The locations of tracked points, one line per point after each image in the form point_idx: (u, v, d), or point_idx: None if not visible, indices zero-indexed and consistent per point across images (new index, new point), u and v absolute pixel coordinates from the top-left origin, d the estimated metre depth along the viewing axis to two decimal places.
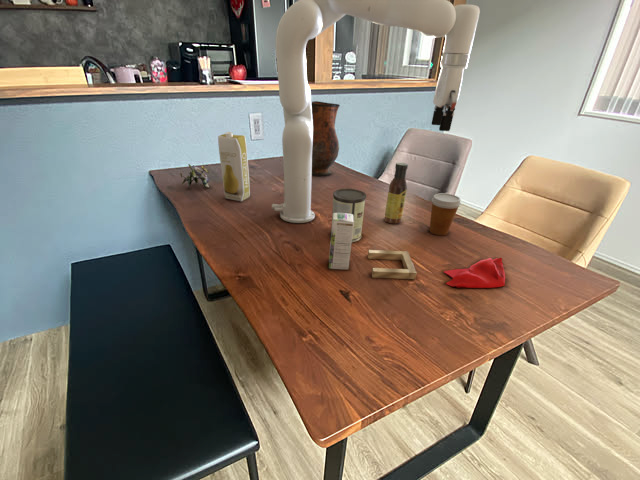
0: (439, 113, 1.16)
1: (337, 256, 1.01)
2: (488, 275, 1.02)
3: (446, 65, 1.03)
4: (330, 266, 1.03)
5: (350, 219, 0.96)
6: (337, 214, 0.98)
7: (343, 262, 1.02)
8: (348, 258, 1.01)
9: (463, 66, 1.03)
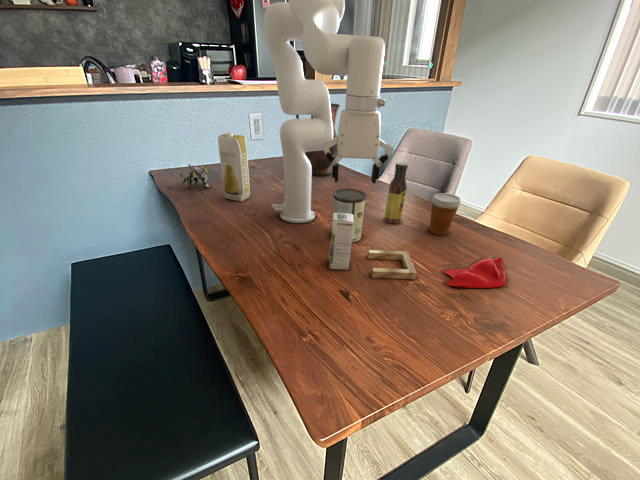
0: (373, 168, 0.91)
1: (337, 256, 1.01)
2: (488, 275, 1.02)
3: None
4: (330, 266, 1.03)
5: (350, 219, 0.96)
6: (337, 214, 0.98)
7: (343, 262, 1.02)
8: (348, 258, 1.01)
9: (347, 109, 0.82)
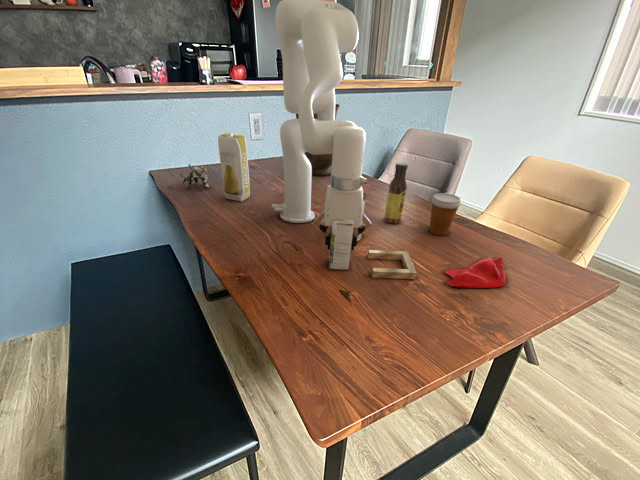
0: None
1: (337, 256, 1.01)
2: (488, 275, 1.02)
3: None
4: (330, 266, 1.03)
5: None
6: None
7: (343, 262, 1.02)
8: (348, 258, 1.01)
9: (332, 188, 0.90)
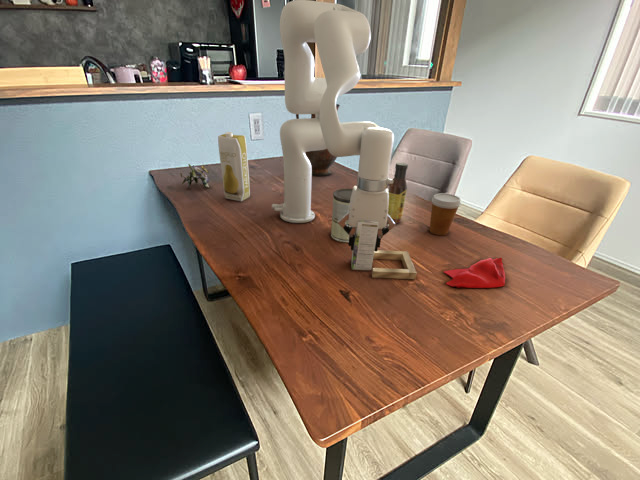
0: None
1: (360, 257, 1.01)
2: (488, 275, 1.02)
3: None
4: (353, 267, 1.03)
5: None
6: None
7: (366, 263, 1.02)
8: (371, 259, 1.01)
9: (359, 189, 0.90)
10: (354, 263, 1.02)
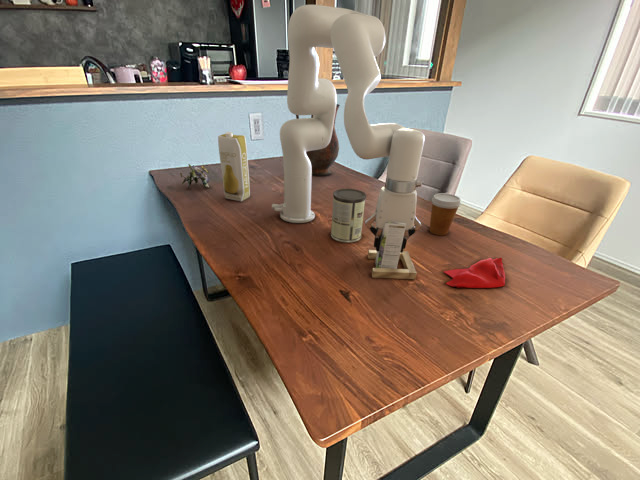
0: None
1: (386, 258, 1.01)
2: (488, 275, 1.02)
3: None
4: None
5: None
6: None
7: (391, 264, 1.02)
8: (397, 260, 1.01)
9: (387, 190, 0.90)
10: (379, 264, 1.02)
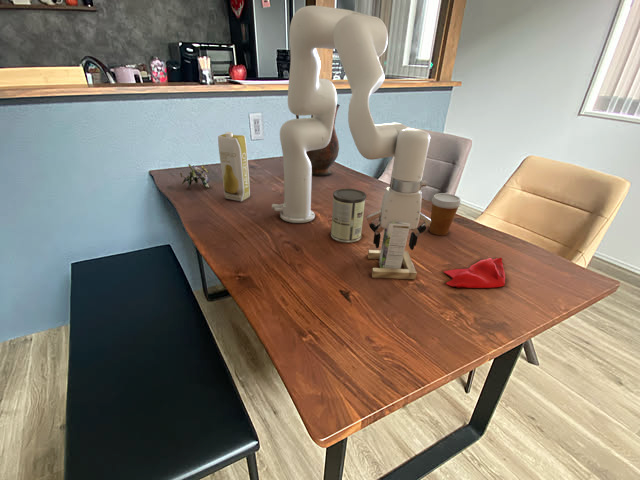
0: (411, 236, 1.00)
1: (390, 258, 1.01)
2: (488, 275, 1.02)
3: None
4: None
5: None
6: None
7: (395, 264, 1.02)
8: (401, 260, 1.01)
9: (392, 190, 0.91)
10: (383, 264, 1.02)
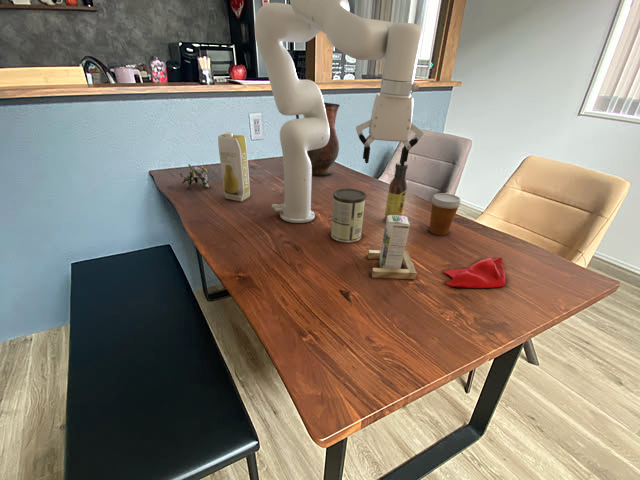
0: (402, 151, 0.96)
1: (390, 258, 1.01)
2: (488, 275, 1.02)
3: None
4: None
5: (406, 222, 0.96)
6: (392, 216, 0.98)
7: (395, 264, 1.02)
8: (401, 260, 1.01)
9: (383, 93, 0.87)
10: (383, 264, 1.02)
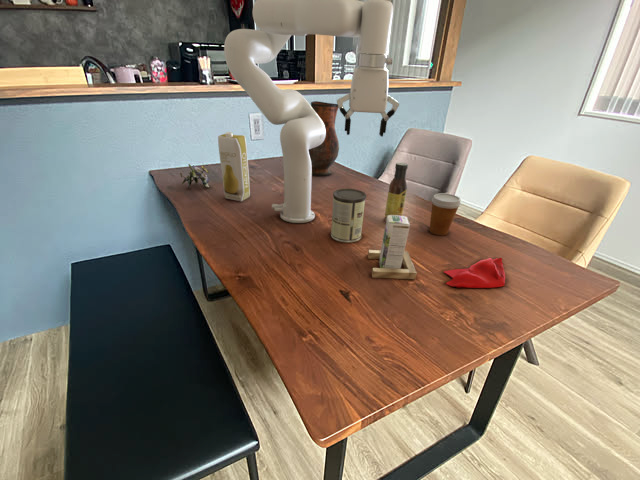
0: (381, 122, 1.03)
1: (390, 258, 1.01)
2: (488, 275, 1.02)
3: None
4: None
5: (406, 222, 0.96)
6: (392, 216, 0.98)
7: (395, 264, 1.02)
8: (401, 260, 1.01)
9: (360, 66, 0.94)
10: (383, 264, 1.02)
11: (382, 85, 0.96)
